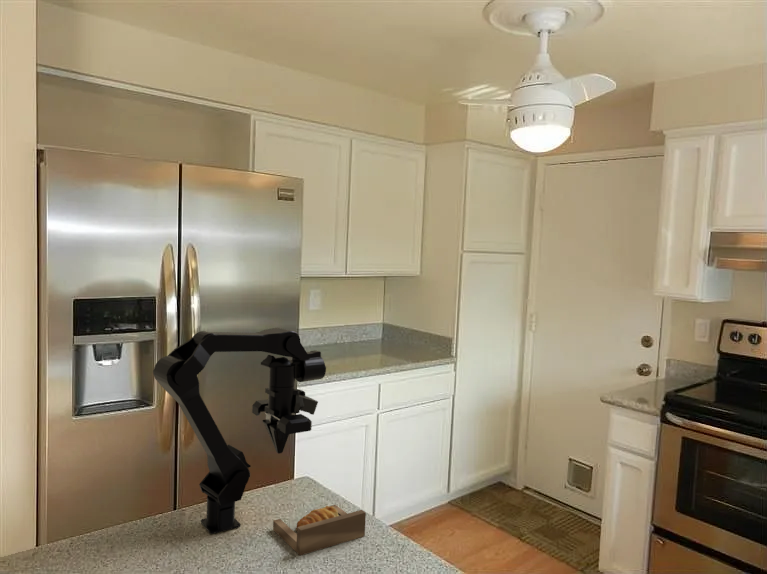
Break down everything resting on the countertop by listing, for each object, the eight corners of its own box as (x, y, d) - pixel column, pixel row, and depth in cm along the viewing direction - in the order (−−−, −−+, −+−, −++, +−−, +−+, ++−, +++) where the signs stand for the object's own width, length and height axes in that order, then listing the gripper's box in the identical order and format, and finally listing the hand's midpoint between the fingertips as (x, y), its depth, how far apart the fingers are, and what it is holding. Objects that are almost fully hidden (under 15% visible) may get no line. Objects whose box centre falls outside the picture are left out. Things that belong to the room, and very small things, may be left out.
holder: (273, 529, 122) (273, 506, 122) (334, 513, 131) (335, 491, 130) (299, 555, 112) (300, 530, 112) (364, 536, 121) (365, 512, 121)
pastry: (307, 542, 118) (308, 523, 118) (288, 529, 123) (289, 511, 123) (343, 528, 125) (344, 510, 124) (324, 516, 129) (325, 500, 129)
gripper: (334, 390, 128) (331, 459, 129) (295, 373, 143) (293, 435, 144) (287, 395, 122) (285, 469, 123) (252, 377, 137) (250, 442, 138)
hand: (279, 452), depth 132 cm, fingers closed
